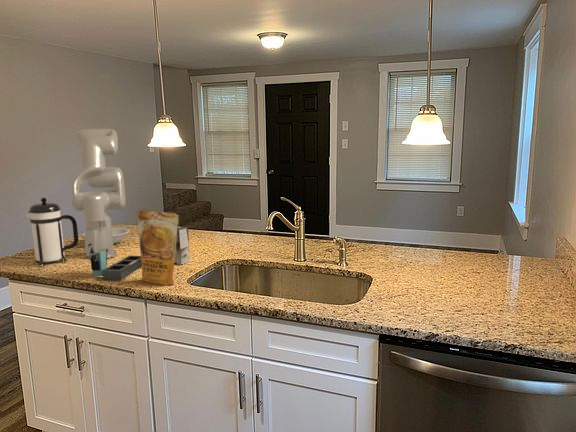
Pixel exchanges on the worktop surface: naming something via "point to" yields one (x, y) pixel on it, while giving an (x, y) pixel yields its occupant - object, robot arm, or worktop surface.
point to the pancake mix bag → (157, 245)
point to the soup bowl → (117, 234)
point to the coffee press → (49, 232)
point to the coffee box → (182, 246)
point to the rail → (122, 268)
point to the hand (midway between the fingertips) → (99, 267)
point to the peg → (100, 263)
